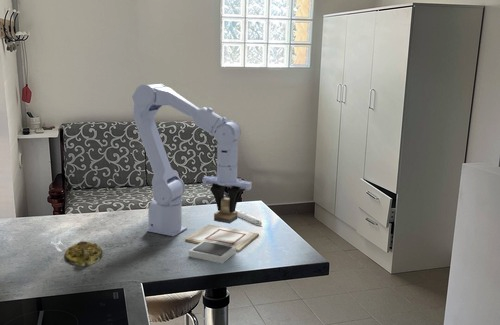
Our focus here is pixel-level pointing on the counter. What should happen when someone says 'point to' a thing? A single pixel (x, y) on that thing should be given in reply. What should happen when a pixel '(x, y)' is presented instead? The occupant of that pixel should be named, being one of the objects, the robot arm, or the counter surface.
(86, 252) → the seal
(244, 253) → the counter surface
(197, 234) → the wooden board
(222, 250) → the ink pad
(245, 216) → the marker
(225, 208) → the stamp
